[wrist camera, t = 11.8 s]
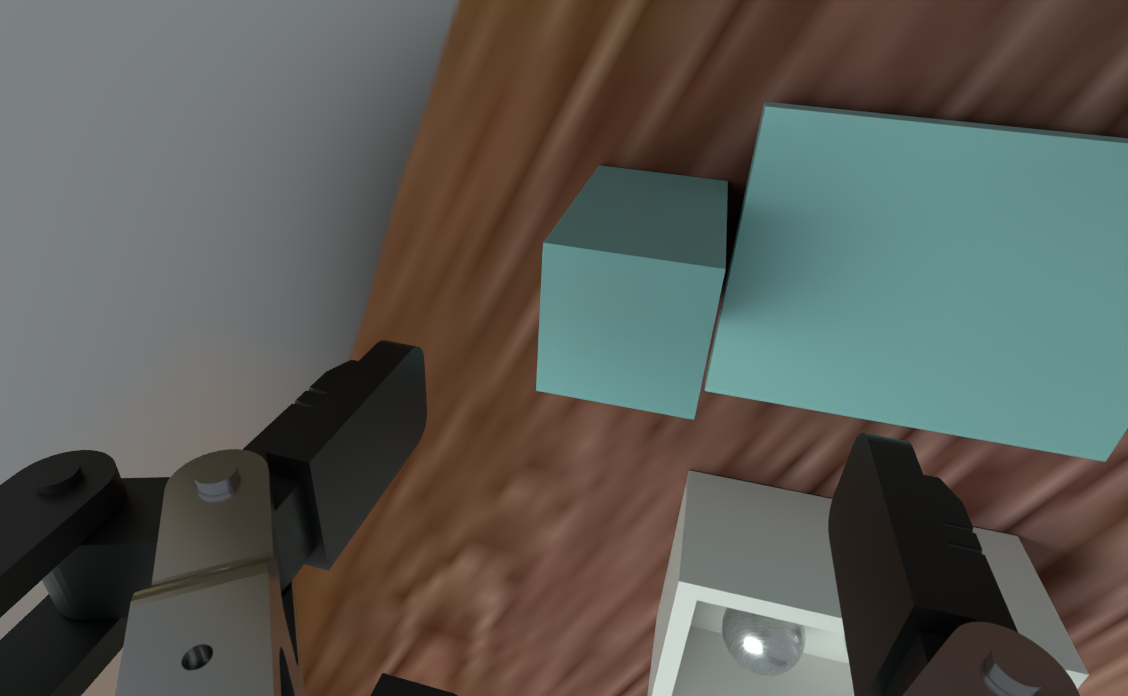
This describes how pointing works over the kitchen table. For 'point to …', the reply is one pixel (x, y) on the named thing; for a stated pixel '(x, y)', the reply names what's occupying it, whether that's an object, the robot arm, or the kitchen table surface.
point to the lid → (860, 281)
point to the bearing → (762, 642)
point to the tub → (791, 592)
